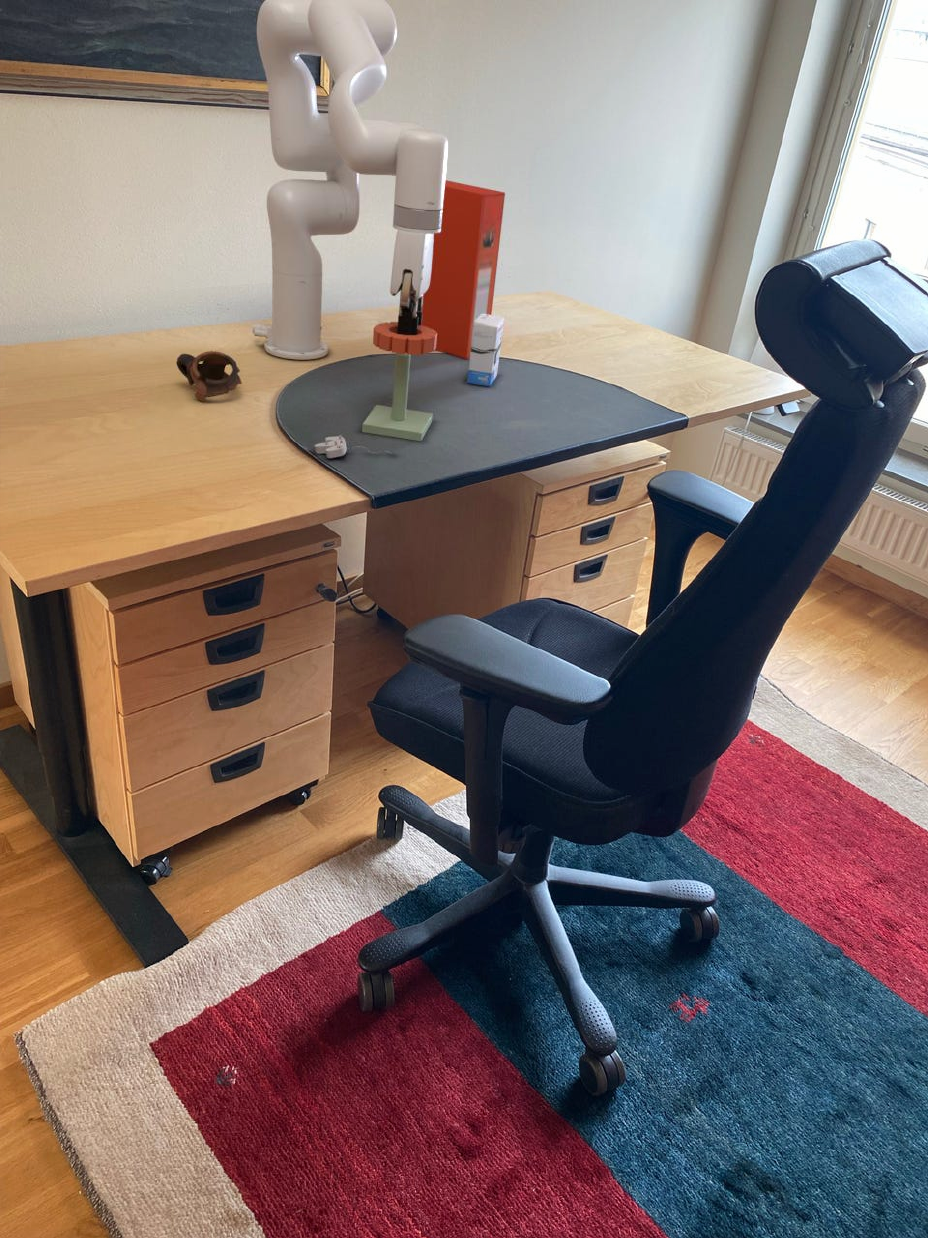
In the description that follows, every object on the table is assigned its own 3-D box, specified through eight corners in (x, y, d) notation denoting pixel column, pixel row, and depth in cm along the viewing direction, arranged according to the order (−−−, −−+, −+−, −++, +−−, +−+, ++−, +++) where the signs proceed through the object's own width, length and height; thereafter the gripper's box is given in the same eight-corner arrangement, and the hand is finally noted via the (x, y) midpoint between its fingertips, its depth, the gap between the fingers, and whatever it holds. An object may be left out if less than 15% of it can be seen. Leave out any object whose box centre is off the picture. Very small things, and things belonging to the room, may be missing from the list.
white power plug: (310, 447, 148) (310, 431, 146) (378, 443, 153) (379, 427, 151) (322, 461, 144) (322, 445, 142) (392, 456, 149) (393, 440, 147)
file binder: (465, 359, 197) (483, 194, 180) (400, 339, 205) (412, 179, 188) (486, 353, 203) (506, 192, 186) (423, 333, 211) (436, 177, 194)
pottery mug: (250, 390, 168) (251, 358, 161) (225, 427, 164) (225, 395, 156) (188, 363, 168) (186, 329, 161) (161, 399, 163) (158, 366, 156)
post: (361, 432, 156) (365, 357, 149) (375, 412, 164) (380, 341, 158) (421, 441, 155) (427, 366, 149) (432, 421, 164) (438, 349, 157)
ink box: (490, 387, 183) (498, 326, 177) (465, 383, 184) (472, 322, 177) (497, 375, 190) (505, 316, 184) (473, 371, 191) (480, 312, 185)
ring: (367, 348, 149) (367, 333, 147) (381, 333, 157) (382, 318, 156) (429, 358, 148) (430, 342, 147) (440, 342, 156) (441, 327, 155)
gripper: (404, 208, 153) (396, 323, 163) (382, 223, 139) (375, 347, 149) (449, 214, 153) (439, 329, 162) (431, 230, 139) (421, 354, 148)
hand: (408, 337), depth 155 cm, fingers closed on ring, 2 cm apart
